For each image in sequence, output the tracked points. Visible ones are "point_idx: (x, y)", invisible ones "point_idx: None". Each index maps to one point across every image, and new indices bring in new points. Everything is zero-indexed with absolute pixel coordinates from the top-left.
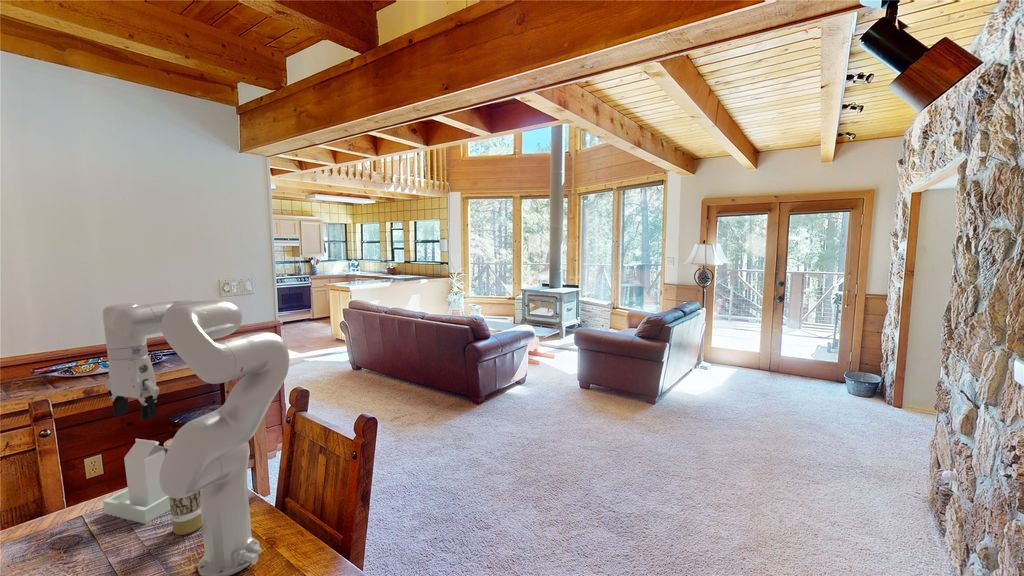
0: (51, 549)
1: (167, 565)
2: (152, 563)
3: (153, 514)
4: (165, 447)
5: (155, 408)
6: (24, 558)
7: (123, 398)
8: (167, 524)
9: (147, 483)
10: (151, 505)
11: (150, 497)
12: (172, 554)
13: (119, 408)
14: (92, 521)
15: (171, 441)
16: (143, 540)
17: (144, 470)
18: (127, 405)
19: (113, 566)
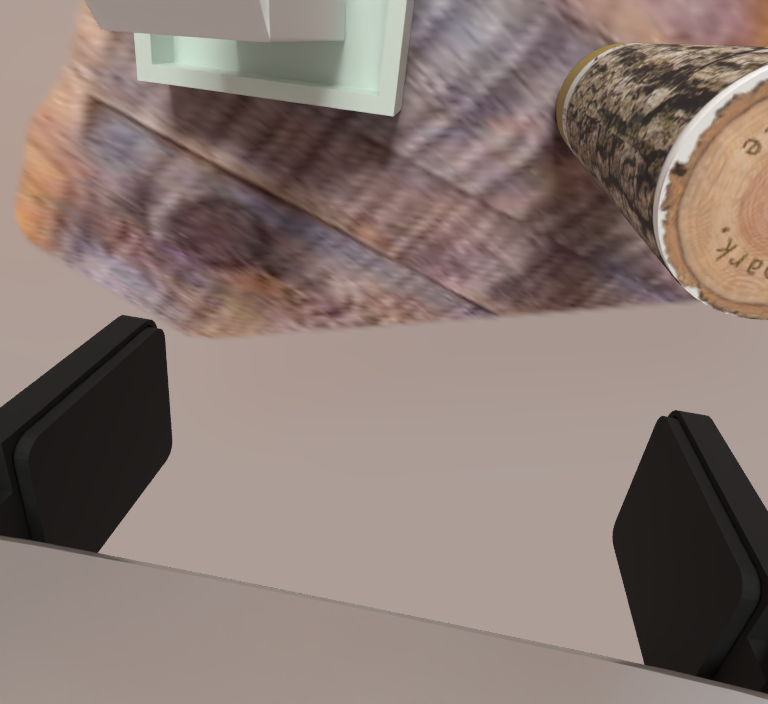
0: (218, 269)
1: (678, 294)
2: (616, 291)
3: (403, 77)
4: (719, 307)
5: (752, 496)
6: (189, 308)
7: (6, 511)
8: (495, 98)
9: (313, 33)
10: (390, 76)
11: (333, 27)
12: None
13: (122, 479)
14: (176, 126)
15: (714, 224)
16: (482, 197)
17: (287, 41)
18: (105, 388)
19: (495, 312)
